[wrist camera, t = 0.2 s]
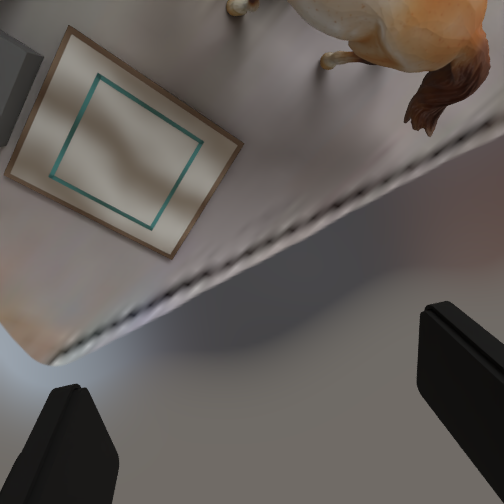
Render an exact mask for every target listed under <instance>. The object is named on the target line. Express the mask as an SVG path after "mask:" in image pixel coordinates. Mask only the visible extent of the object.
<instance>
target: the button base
mask: <svg viewBox="0 0 504 504" xmlns="http://www.w3.org/2000/svg"><path fill="white" fill-rule="evenodd" d="M43 58H44V57H43V56H42V55H40V54H38V53H37V52H35V51H34V50H32V49H31V48H29V47H27V46H26V45H24V44H23V43H21V42H19V41H18V40H16V39H15V38H13V37H11V36H10V35H8V34H7V33H5V32H4V31H2V30H0V147H2V146H6V144H7V142H8V140H9V137H10V135H11V133H12V130H13V128H14V126H15V123H16V121H17V119H18V116H19V114H20V112H21V109H22V107H23V105H24V102H25V100H26V97H27V95H28V93H29V90H30V88H31V86H32V83H33V81H34V79H35V76H36V74H37V72H38V69H39V67H40V65H41V62H42V60H43Z"/></svg>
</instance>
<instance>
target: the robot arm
mask: <svg viewBox="0 0 504 504" xmlns="http://www.w3.org/2000/svg"><path fill="white" fill-rule="evenodd" d="M417 387H418V390H419V392H420V394H421V395H422V397H423V398H424V399H425V401H426V402H427V403H428V405H429V406H430V407H431V409H432V410H433V411H434V412H435V414H436V415H437V416H438V418H439V419H440V420H441V422H442V423H443V424H444V426H445V427H446V428H447V430H448V431H449V432H450V433H451V435H452V436H453V437H454V439H455V440H456V441H457V442H458V444H459V445H460V447H461V448H462V449H463V451H464V452H465V453H466V454H467V456H468V457H469V458H470V459H471V461H472V462H473V464H474V465H475V466H476V467H477V468H478V470H479V471H480V473H481V474H482V475H483V477H484V478H485V479H486V481H487V482H488V483H489V484H490V486H491V487H492V488H493V490H494V491H495V492H496V494H497V495H498V496H499V498H500V499H501V500H502V502H503V503H504V344H503V343H501V342H500V341H499V340H498V339H496V338H495V337H494V336H493V335H491V334H490V333H489V332H488V331H486V330H485V329H484V328H483V327H481V326H480V325H479V324H478V323H476V322H475V321H474V320H472V319H471V318H470V317H469V316H467V315H466V314H465V313H464V312H462V311H461V310H460V309H459V308H457V307H456V306H455V305H454V304H452V303H451V302H449V301H444V302H439V303H435V304H430V305H427V306H426V307H425V310H424V311H423V312H421V314H420V326H419V345H418V364H417ZM118 470H119V458H118V454H117V451H116V449H115V447H114V445H113V442H112V440H111V438H110V436H109V434H108V432H107V430H106V427H105V425H104V423H103V421H102V419H101V417H100V414H99V412H98V410H97V408H96V406H95V404H94V402H93V399H92V397H91V395H90V393H89V391H88V389H87V388H81V387H80V385H78V384H72V385H68V386H63V387H59V388H55V389H53V390H52V391H51V393H50V394H49V397H48V399H47V401H46V403H45V405H44V407H43V409H42V411H41V413H40V415H39V417H38V419H37V422H36V424H35V425H34V428H33V430H32V432H31V434H30V436H29V438H28V440H27V442H26V444H25V446H24V448H23V450H22V452H21V453H20V455H19V456H18V458H17V459H16V461H15V463H14V465H13V467H12V469H11V471H10V473H9V475H8V477H7V479H6V481H5V483H4V485H3V487H2V490H1V491H0V504H112V500H113V495H114V490H115V484H116V480H117V475H118Z"/></svg>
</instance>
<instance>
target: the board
mask: <svg viewBox="0 0 504 504" xmlns="http://www.w3.org/2000/svg"><path fill="white" fill-rule="evenodd" d="M243 145H244V143H243V142H241V141H240V140H238V139H237V138H235V137H234V136H232V135H231V134H230V133H228V132H227V131H225V130H224V129H222V128H221V127H219V126H218V125H216V124H215V123H213V122H212V121H210V120H209V119H207V118H206V117H204V116H203V115H201V114H200V113H198V112H197V111H196V110H194V109H193V108H191V107H190V106H188V105H187V104H185V103H184V102H182V101H181V100H179V99H178V98H176V97H175V96H173V95H172V94H170V93H169V92H167V91H166V90H164V89H163V88H162V87H160V86H159V85H157V84H156V83H154V82H153V81H151V80H150V79H148V78H147V77H145V76H144V75H142V74H141V73H139V72H138V71H136V70H135V69H133V68H132V67H130V66H129V65H127V64H126V63H125V62H123V61H122V60H120V59H119V58H117V57H116V56H114V55H113V54H111V53H110V52H108V51H107V50H105V49H104V48H102V47H101V46H99V45H98V44H96V43H95V42H93V41H92V40H91V39H89V38H88V37H86V36H85V35H83V34H82V33H80V32H79V31H77V30H76V29H74V28H73V27H71V26H70V25H68V28H67V30H66V32H65V35H64V37H63V39H62V41H61V44H60V46H59V48H58V51H57V53H56V55H55V57H54V60H53V62H52V64H51V67H50V69H49V71H48V74H47V76H46V78H45V80H44V83H43V85H42V87H41V90H40V92H39V94H38V97H37V99H36V101H35V103H34V106H33V108H32V110H31V113H30V115H29V117H28V120H27V122H26V124H25V126H24V129H23V131H22V133H21V136H20V138H19V140H18V143H17V145H16V147H15V149H14V152H13V154H12V156H11V159H10V161H9V163H8V166H7V168H6V170H5V172H4V176H6V177H8V178H10V179H12V180H14V181H16V182H18V183H20V184H22V185H24V186H26V187H28V188H30V189H32V190H34V191H36V192H38V193H40V194H42V195H44V196H46V197H48V198H50V199H52V200H54V201H56V202H58V203H60V204H62V205H64V206H66V207H68V208H70V209H72V210H74V211H76V212H78V213H80V214H82V215H84V216H86V217H88V218H90V219H92V220H94V221H96V222H98V223H100V224H102V225H104V226H106V227H108V228H109V229H111V230H113V231H115V232H117V233H119V234H121V235H123V236H125V237H127V238H129V239H131V240H133V241H135V242H137V243H139V244H141V245H143V246H145V247H147V248H149V249H151V250H153V251H155V252H157V253H159V254H161V255H163V256H165V257H167V258H169V259H171V260H172V259H173V257H174V256H175V254H176V253H177V251H178V249H179V248H180V246H181V245H182V243H183V241H184V240H185V238H186V237H187V235H188V233H189V232H190V230H191V229H192V227H193V225H194V224H195V222H196V221H197V219H198V217H199V216H200V214H201V212H202V211H203V209H204V208H205V206H206V204H207V203H208V201H209V200H210V198H211V196H212V195H213V193H214V192H215V190H216V188H217V187H218V185H219V184H220V182H221V180H222V179H223V177H224V176H225V174H226V172H227V171H228V169H229V167H230V166H231V164H232V163H233V161H234V159H235V158H236V156H237V155H238V153H239V151H240V150H241V148H242V147H243Z"/></svg>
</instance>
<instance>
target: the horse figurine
mask: <svg viewBox="0 0 504 504" xmlns="http://www.w3.org/2000/svg"><path fill="white" fill-rule="evenodd" d="M287 1H288V2H289V3H290V4H291V5H292V7H293V8H294V9H295V10H296V11H297V13H298V14H299V15H300V16H301V17H302V19H304V20H305V21H306V22H307V23H308V24H309V25H311V26H312V27H314V28H315V29H317V30H319V31H321V32H323V33H325V34H327V35H330V36H332V37H335V38H337V39H341V40H348V41H349V44H348V45H349V47H350V48H351V49H352V50H353V52H344V51H337V52H335V53H332V52H329V53H325V54H324V55H323V56H322V57H321V60H320V65H321V67H322V68H323V69H326V70H330V69H333V68H334V67H335V66H336V65H340V64H345V63H348V62H361V63H365V64H369V65H380V66H384V67H389V68H393V69H396V70H399V71H403V72H408V73H414V72H423V71H429V73H427V74H426V76H425V77H424V79H423V81H422V84H421V85H420V88H419V89H418V91H417V93H416V94H415V95H414V96H413V98H412V99H411V101H410V103H409V105H408V108H407V111H406V114H405V117H404V123H407V122H408V121H409V120H410V119H411V124H412V128H413V129H414V130H417V131H419V130H420V129H421V128H424V129H425V131H426V133H427V135H428V136H429V137H431V135H432V134H433V131H434V130H435V126H436V124H437V120H438V118H439V117H440V115H441V114H442V112H443V111H444V109H445V108H446V106H448V105H451V104H454V103H457V102H459V101H462V100H464V99H466V98H467V97H469V96H470V95H472V94H473V93H474V92H475V91H476V90H477V89H478V88H479V87H480V85H481V84H482V83H483V82H484V81H485V79H486V78H487V76H488V74H489V69H490V67H491V66H490V57H489V46H488V40H487V39H486V33H485V32H484V31H483V29H482V21H483V19H484V16H485V12H486V8H487V0H287ZM259 4H260V3H259V0H228V2H227V6H226V8H227V11H228V13H229V14H230V15H232V16H241V15H245V14H246V13H247V11H249V12H255V11H256V10H257V9H258V8H259Z"/></svg>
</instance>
